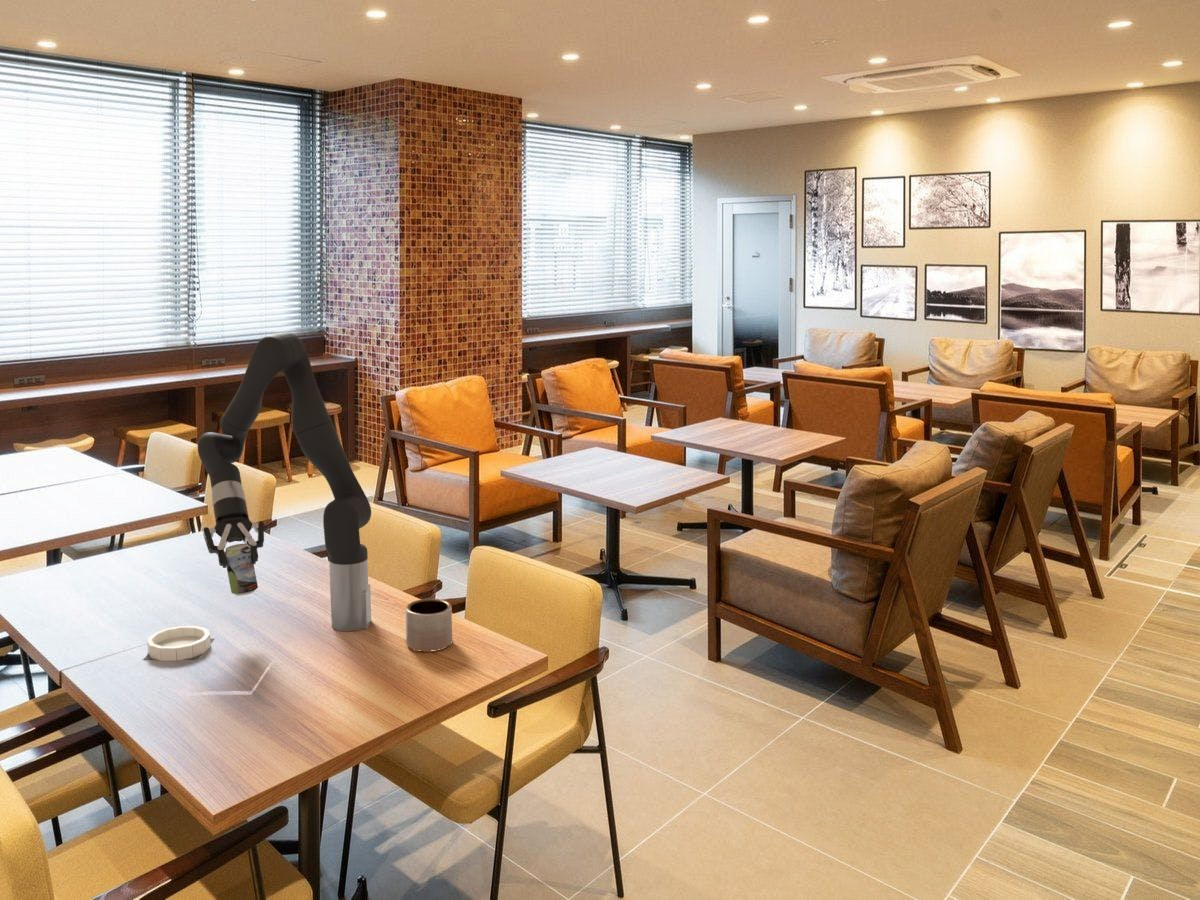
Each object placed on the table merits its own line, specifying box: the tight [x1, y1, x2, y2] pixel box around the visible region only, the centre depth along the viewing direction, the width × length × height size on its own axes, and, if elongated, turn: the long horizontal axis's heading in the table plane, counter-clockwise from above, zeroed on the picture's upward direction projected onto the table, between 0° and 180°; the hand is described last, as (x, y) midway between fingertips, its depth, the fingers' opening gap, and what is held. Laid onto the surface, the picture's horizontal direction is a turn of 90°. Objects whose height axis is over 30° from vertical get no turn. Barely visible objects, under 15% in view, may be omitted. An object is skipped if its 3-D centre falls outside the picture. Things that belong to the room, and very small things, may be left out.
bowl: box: [146, 625, 212, 662], centre depth 222 cm, size 13×13×3 cm
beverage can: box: [224, 543, 259, 597], centre depth 227 cm, size 6×7×12 cm
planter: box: [405, 598, 453, 651], centre depth 228 cm, size 11×11×10 cm
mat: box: [142, 638, 215, 661], centre depth 222 cm, size 12×12×1 cm
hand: (239, 564), depth 225 cm, fingers closed on beverage can, 6 cm apart
